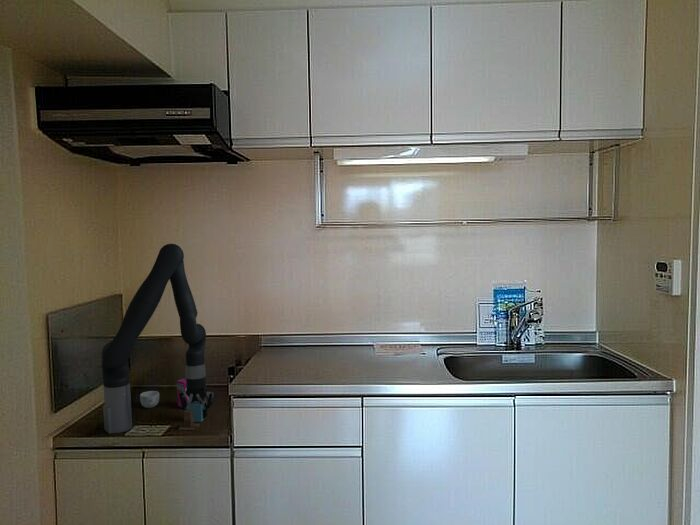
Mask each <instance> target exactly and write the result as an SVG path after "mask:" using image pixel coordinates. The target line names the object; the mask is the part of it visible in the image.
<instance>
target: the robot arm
mask: <svg viewBox="0 0 700 525" xmlns="http://www.w3.org/2000/svg"><path fill="white" fill-rule="evenodd" d="M184 259H185V254H184V251H183V249H182V247H181V246H179V245H178V244H176V243H168V244H165V245H163V246H162V247H161V248H160V249H159V251H158V254H157V257H156V259H155V260H154V263H153V266H152V268H151V270H150V272H149V274H148V275H147V277H146V278H145V279H144V280H143V282H142V283H141V285H140V286H139V288H138V289H137V291H136V292H135V294H134V295H133V297H132V299H131V300H130V303H129V305H128V307H127V309H126V311H125V314H124V316H123V319H122V322H121V325H120V327H119V329H118V331H117V333H116V335H115V336H114V338H112V341H109V342H107V343H105V345H104V346H103V347H102V351H101V369H102V370H101V371H102V383H103V400H104V404H103V405H102V411H103V424H104V425H103V427H104V430H105V432H107V434H119V433H125V432H127V431H130V430H131V429H132V428H133V419H132V418H133V416H132V400H131V395H132V394H131V380H130V378H131V377H130V369H129V368H130V367H129V358H130V355H131V353H132V350H133V349H134V347H135V345H136V342H137V340H138V338H139V336H140V335H141V334H142V332H143V330H144V329H145V328H146V326H147V324H148V323H149V321H151V320H150V319H151V318H152V317H153V315H154V313H155V311H156V309H157V308H158V307H159V306H158V305H159V304H160V302H161V299H162V297H163V295H164V291H165V289H166V286H167V285H168V282H169V281H170V284H171V289H172V290H171V291H172V295H173V299H174V303H175V307H176V311H177V313H178V314H177V315H178V317H179V328H180V335H181V338H182V340H183V341H184V342H185V344H187V345H188V348H187V350H186V351H185V378H186V388H187V390H186V391H185V392H184V391H182V392H180V393H179V397H180V401H181V405H182V407H183V408H184V407H185V408H187V409H186V410H188V405H189V404H191V403H192V402H195V401H197V402H200V404H202V408H203V419H204V420H205V419H207V417H208V414H209V413H208V409H211V407H212V406H213V403H214V397H215V392H214V391H208V390H207V374H206V372H207V371H206V366H205V364H206V363H205V348H206V341H207V332H206V328H205V327H204V326H203V325H202V324H200V323H197V317H198V309H197V305H196V303H195V299H194V296H193V294H192V291H191V290H192V289H191V288H190V284H189V282H188V279H187V274H186V270H185V263H184V262H185V261H184ZM186 395H187V396H188V397H189V400H188V404H187V401H186V397H185V396H186ZM206 397H207V399H206ZM183 408H182V409H183Z"/></svg>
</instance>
